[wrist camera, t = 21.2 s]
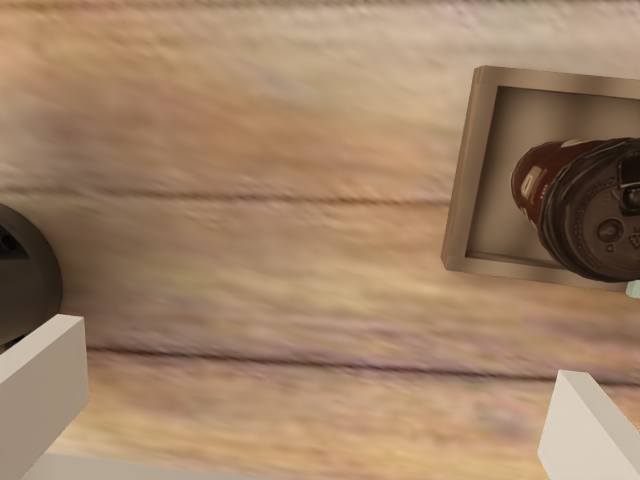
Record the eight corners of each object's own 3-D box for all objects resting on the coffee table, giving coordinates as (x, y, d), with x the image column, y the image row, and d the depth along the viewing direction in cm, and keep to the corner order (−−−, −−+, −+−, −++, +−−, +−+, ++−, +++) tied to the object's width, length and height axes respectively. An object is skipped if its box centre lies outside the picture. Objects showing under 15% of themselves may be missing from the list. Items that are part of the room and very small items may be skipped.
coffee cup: (544, 99, 35) (637, 98, 23) (635, 159, 36) (776, 189, 23) (472, 197, 38) (521, 244, 25) (558, 252, 38) (647, 324, 26)
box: (440, 257, 40) (446, 269, 37) (474, 68, 36) (483, 65, 33) (611, 278, 39) (631, 293, 36) (667, 86, 35) (695, 85, 32)
